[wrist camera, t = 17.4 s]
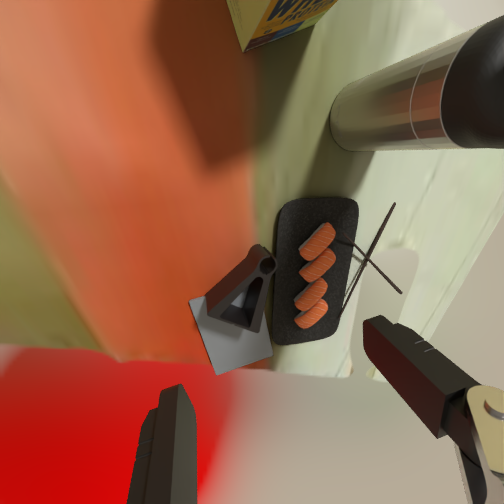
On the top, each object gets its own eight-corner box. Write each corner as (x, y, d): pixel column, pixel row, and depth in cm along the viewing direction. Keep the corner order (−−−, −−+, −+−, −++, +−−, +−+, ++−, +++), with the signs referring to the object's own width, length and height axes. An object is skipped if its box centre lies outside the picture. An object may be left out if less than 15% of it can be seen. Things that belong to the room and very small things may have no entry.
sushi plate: (275, 197, 38) (284, 201, 34) (428, 193, 45) (448, 196, 41) (268, 341, 49) (274, 355, 45) (392, 321, 55) (405, 332, 52)
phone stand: (206, 315, 35) (245, 243, 33) (204, 295, 40) (238, 233, 38) (258, 334, 38) (297, 269, 36) (250, 313, 43) (283, 256, 41)
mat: (256, 280, 42) (257, 281, 42) (272, 353, 49) (273, 355, 49) (189, 300, 40) (188, 302, 40) (215, 373, 48) (216, 375, 47)
